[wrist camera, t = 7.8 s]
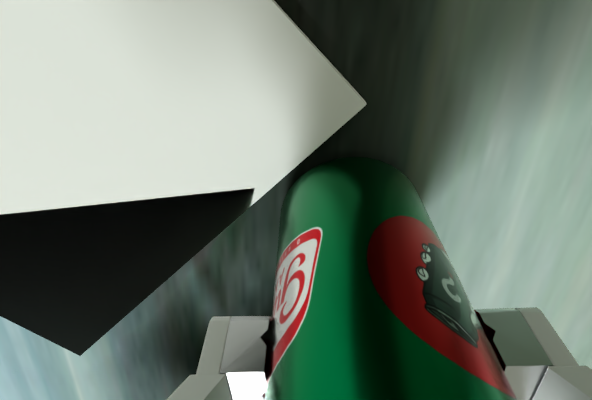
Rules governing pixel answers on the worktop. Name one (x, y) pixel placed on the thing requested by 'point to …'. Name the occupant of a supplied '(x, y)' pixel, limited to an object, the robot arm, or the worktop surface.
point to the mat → (142, 144)
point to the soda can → (371, 297)
